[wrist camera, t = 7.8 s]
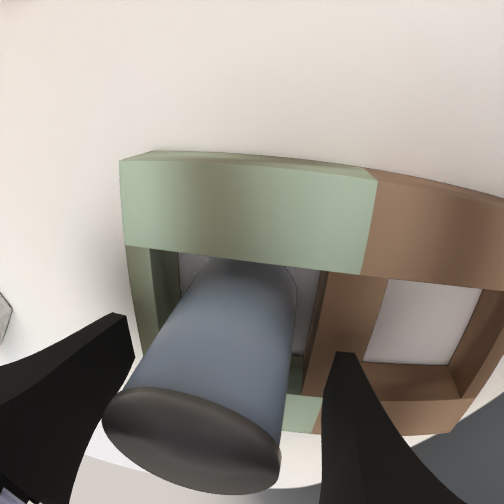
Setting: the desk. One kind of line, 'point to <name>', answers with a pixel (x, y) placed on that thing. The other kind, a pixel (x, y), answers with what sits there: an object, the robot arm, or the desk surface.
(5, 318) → the supplement box
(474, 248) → the rack
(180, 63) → the desk surface
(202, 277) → the tube
